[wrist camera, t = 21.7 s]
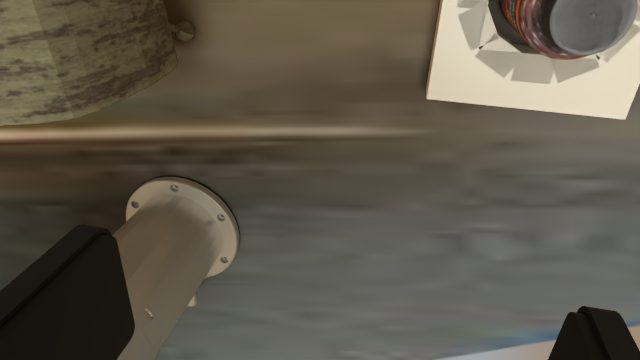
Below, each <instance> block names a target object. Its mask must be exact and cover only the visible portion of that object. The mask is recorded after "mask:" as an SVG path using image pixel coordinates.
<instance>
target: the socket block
mask: <svg viewBox="0 0 640 360" xmlns="http://www.w3.org/2000/svg"><path fill="white" fill-rule="evenodd" d="M488 2H489V0H440V6H439V12H438V18H437V24H436V30H435V37H434V43H433V49H432V55H431V61H430V67H429V73H428V80H427V86H426V96H427V99H432V100H442V101H452V102H461V103H471V104H480V105H490V106H500V107H509V108H519V109H528V110H538V111H548V112H557V113H567V114H576V115H586V116H596V117H605V118H615V119H624V120H625V119H626V116H627V114H628V111H629V109H630V106H631V104H632V101H633V99H634V96H635V94H636V91H637V89H638V86H639V84H640V0H637V3H638V8H637V14H636V18H635V20H634V22H633V24H632V26H631V28H630V30H629V31H628V32H627V33H626V35H625V36H624V37H623V38H622V39H621V40H620V41H619V42H617V44H615V45H614V46H612V47H610V48H609V49H606V50H605V51H603V52H599V53H596V54H592V55H589V56H586V57H583V58H579V59H572V60H559V59H552V58H549V57H546V56H544V55H542V54H539V53H538V52H536V51H535V50H534V49H533V48H531V47H530V46H529V45H523V44H514V43H513V42H511V41H510V40H509V39H507V38H506V37H505V36H503V35H502V34H501V33H499V32H498V31H497V30H496V28H495V25H494V22H493V19H492V16H491V13H490V10H489V7H488Z"/></svg>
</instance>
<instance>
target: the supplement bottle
mask: <svg viewBox="0 0 640 360" xmlns="http://www.w3.org/2000/svg"><path fill="white" fill-rule="evenodd" d="M499 1H500V6H501V10H502V13H503V15H504V17H505V18H506V20H507V21H508V22H509V23H510V25H511V26H512V27H513V28H514V29H515V30H516V31H517V32H518V34H519V35H520V36H521V37H522V38H523V39H524V41H525V42H526V43H527V44H528V45H529V46H530V47H531V48H533V49H534V50H535V51H536V52H538V53H539V54H542V55H544V56H546V57H549V58H552V59H559V60H572V59H579V58H583V57H586V56H589V55H592V54H596V53H599V52H603V51H605V50H606V49H609V48H610V47H612V46H614V45H615V44H617V42H619V41H620V40H621V39H622V38H623V37H624V36H625V35H626V33H627V32H628V31H629V30H630V28H631V26H632V24H633V22H634V20H635V18H636V14H637V8H638V3H637V0H499Z"/></svg>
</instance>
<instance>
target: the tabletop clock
mask: <svg viewBox="0 0 640 360" xmlns="http://www.w3.org/2000/svg"><path fill="white" fill-rule="evenodd" d="M171 32H175V34H176V36H177V37H178V38H179V39H180V40H184V41H188V40H190V39H192V37H193V36H194V27H193V26H192V24H191V23H190V22H187V21H181V22H178V23H177V24H176V25H174V24H171V23H169V21H168V17H167V12H166V8H165V4H164V0H0V126H2V125H25V124H38V123H49V122H56V121H63V120H69V119H75V118H78V117H81V116H84V115H86V114H89V113H92V112H95V111H98V110H100V109H103V108H105V107H107V106H110V105H112V104H114V103H116V102H119V101H121V100H123V99H125V98H127V97H129V96H131V95H133V94H135V93H137V92H139V91H141V90H142V89H144V88H146V87H148V86H150V85H152V84H154V83H155V82H157V81H158V80H160V79H161V78H163V77H164V76H166V75H167V74H169V73H170V72H171V71H173V70H174V69H175V68H176V67H177V64H178V60H177V56H176V51H175V47H174V43H173V38H172V34H171Z"/></svg>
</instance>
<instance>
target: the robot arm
mask: <svg viewBox="0 0 640 360" xmlns="http://www.w3.org/2000/svg"><path fill="white" fill-rule="evenodd" d="M239 242H240V240H239V230H238V226H237V223H236V221H235V218H234V216H233V214H232V213H231V211H230V210H229V208H228V207H227V206H226V204H225V203H224V202H223V201H222V200H221V199H220V198H219V197H218V196H217V195H216V194H214V193H213V192H212V191H210V190H209V189H208V188H206V187H204V186H202V185H200V184H198V183H196V182H193V181H191V180H188V179H184V178H179V177H160V178H155V179H152V180H150V181H148V182H146V183H144V184H143V185H142V186H141V187H139V188H138V189H137V190H136V191H135V192H134V193H133V194H132V196H131V197H130V199H129V201H128V204H127V208H126V223H125V224H124V225H123V226H122V227H121V228H119V229H118V230H117V231H116V232H115V233H114V234H113V235H111V233H110V231H109V230H108V229H105V228H99V227H93V226H87V225H78V226H77V227H75V228H74V229H73V230H71V231H70V232H69V233H68V234H67V235H66V236H64V237H63V238H62V239H61V240H60V241H59V242H57V243H56V244H55V245H54V246H53V247H52V248H50V249H49V250H48V251H47V252H46V253H45V254H43V255H42V256H41V257H40V258H39V259H37V260H36V261H35V262H34V263H33V264H32V265H30V266H29V267H28V268H27V269H26V270H25V271H23V272H22V273H21V274H20V275H19V276H18V277H16V278H15V279H14V280H13V281H12V282H11V283H9V284H8V285H7V286H6V287H5V288H4V289H2V290H1V291H0V360H154V359H155V357H156V355H157V354H158V352H159V351H160V349H161V347H162V346H163V344H164V343H165V341H166V339H167V338H168V336H169V335H170V333H171V331H172V330H173V328H174V327H175V325H176V323H177V322H178V320H179V319H180V317H181V315H182V314H183V312H184V311H185V309H186V307H187V306H194V305H196V304H197V302H198V299H197V292H196V291H197V290H198V288H199V287H200V285H201V283H202V282H203V280H204V279H205V278H208V277H211V276H214V275H217V274H219V273H221V272H222V271H224V270H225V269H226V268H227V267H228V266H229V265H230V264H231V262H232V261H233V259H234V257H235V255H236V253H237V251H238V247H239ZM548 360H640V351H639V349H638V347H637V345H636V343H635V341H634V339H633V338H632V336H631V334H630V332H629V330H628V328H627V326H626V324H625V322H624V320H623V318H622V317H621V315H620V314H619V313H618V312H616V311H611V310H605V309H598V308H592V307H586V306H582V307H581V308H579V310H578V311H577V313H574V312H570V313H569V314H568V315H567V317H566V319H565V321H564V324H563V326H562V328H561V331H560V333H559V335H558V338H557V340H556V342H555V345H554V347H553V349H552V352H551V354H550V356H549V359H548Z"/></svg>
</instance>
